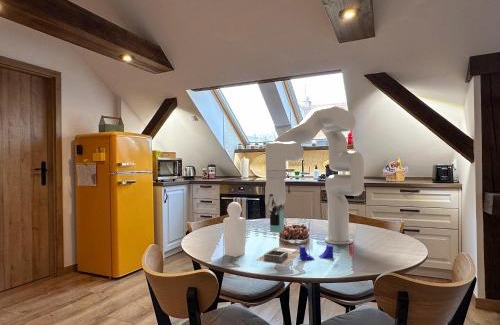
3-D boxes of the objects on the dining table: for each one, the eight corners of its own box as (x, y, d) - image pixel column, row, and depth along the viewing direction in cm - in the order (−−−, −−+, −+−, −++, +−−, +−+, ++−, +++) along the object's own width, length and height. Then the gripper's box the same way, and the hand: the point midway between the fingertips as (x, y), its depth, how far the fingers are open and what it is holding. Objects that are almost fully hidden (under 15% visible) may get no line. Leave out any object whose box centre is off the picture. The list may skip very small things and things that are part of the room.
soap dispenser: (234, 254, 130) (233, 200, 130) (246, 257, 126) (246, 201, 126) (223, 258, 125) (222, 202, 125) (235, 261, 121) (235, 203, 121)
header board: (275, 250, 135) (275, 242, 135) (303, 254, 130) (303, 245, 130) (255, 264, 117) (255, 254, 117) (286, 268, 112) (286, 258, 112)
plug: (273, 229, 122) (273, 206, 122) (284, 230, 120) (284, 206, 120) (269, 231, 118) (268, 207, 118) (280, 232, 116) (280, 208, 116)
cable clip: (302, 264, 116) (302, 248, 116) (299, 261, 121) (299, 245, 121) (334, 263, 117) (334, 247, 117) (330, 260, 122) (330, 244, 122)
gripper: (274, 174, 128) (275, 219, 128) (257, 176, 113) (258, 227, 113) (292, 174, 125) (293, 220, 125) (277, 176, 110) (278, 229, 110)
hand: (277, 223), depth 119 cm, fingers closed on plug, 4 cm apart
